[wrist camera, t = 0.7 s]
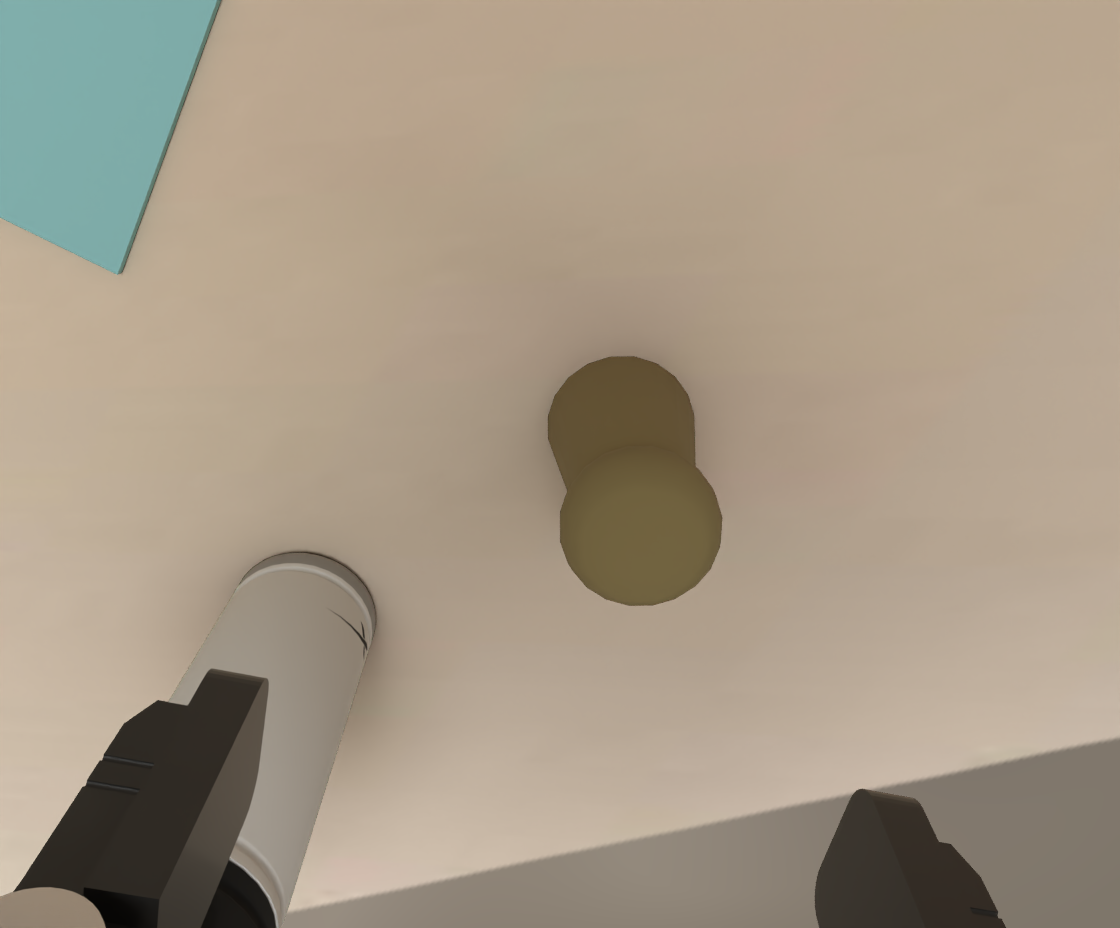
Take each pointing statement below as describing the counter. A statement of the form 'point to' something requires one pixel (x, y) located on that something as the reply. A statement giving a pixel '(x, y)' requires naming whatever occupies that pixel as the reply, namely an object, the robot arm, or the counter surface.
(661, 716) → the counter surface
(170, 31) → the teal mat
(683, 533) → the cork
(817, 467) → the counter surface
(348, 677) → the travel mug
